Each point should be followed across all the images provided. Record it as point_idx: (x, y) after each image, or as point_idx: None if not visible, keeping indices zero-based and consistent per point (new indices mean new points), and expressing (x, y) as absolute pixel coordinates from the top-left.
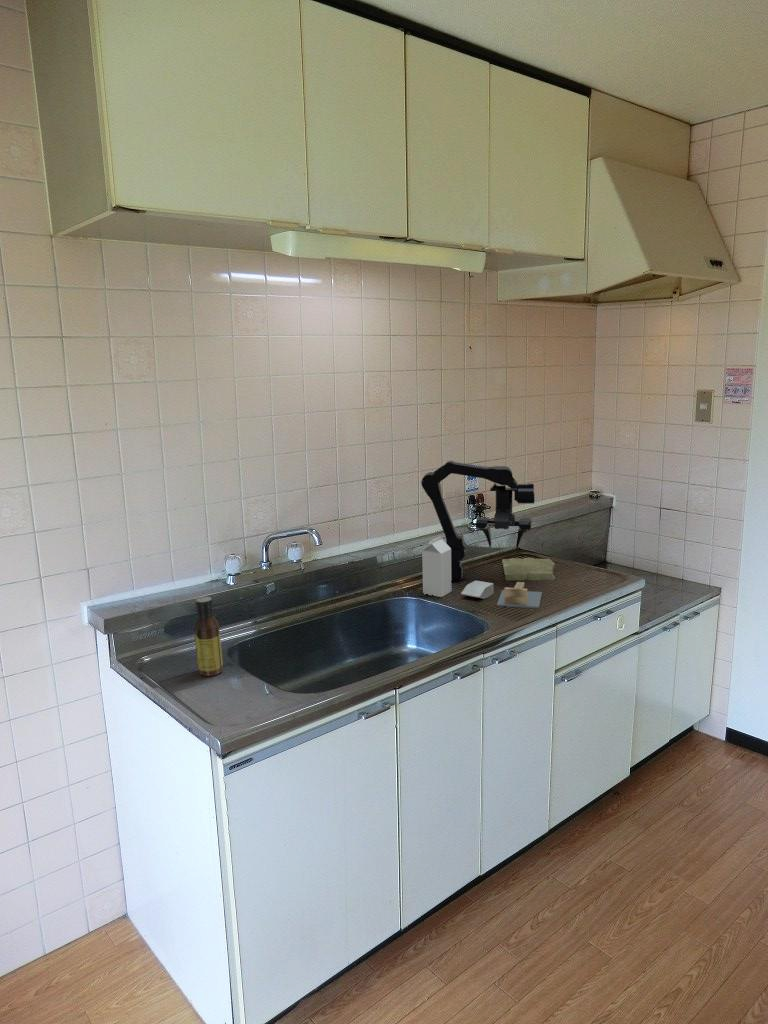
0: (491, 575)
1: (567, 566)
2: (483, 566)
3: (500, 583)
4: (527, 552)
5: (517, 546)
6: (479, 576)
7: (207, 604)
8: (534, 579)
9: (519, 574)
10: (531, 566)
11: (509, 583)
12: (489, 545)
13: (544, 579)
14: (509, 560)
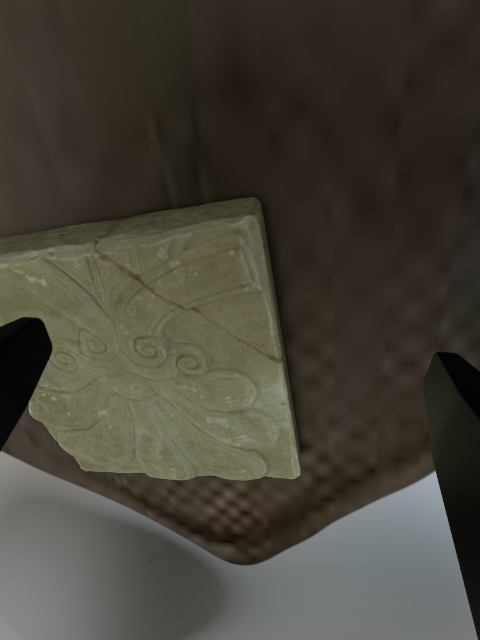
0: (363, 293)
1: (25, 431)
2: (402, 435)
3: (293, 104)
4: (216, 554)
5: (6, 327)
6: (453, 265)
7: None
8: (79, 227)
9: (155, 228)
10: (115, 362)
11: (222, 118)
12: (471, 368)
13: (26, 235)
14: (260, 458)
